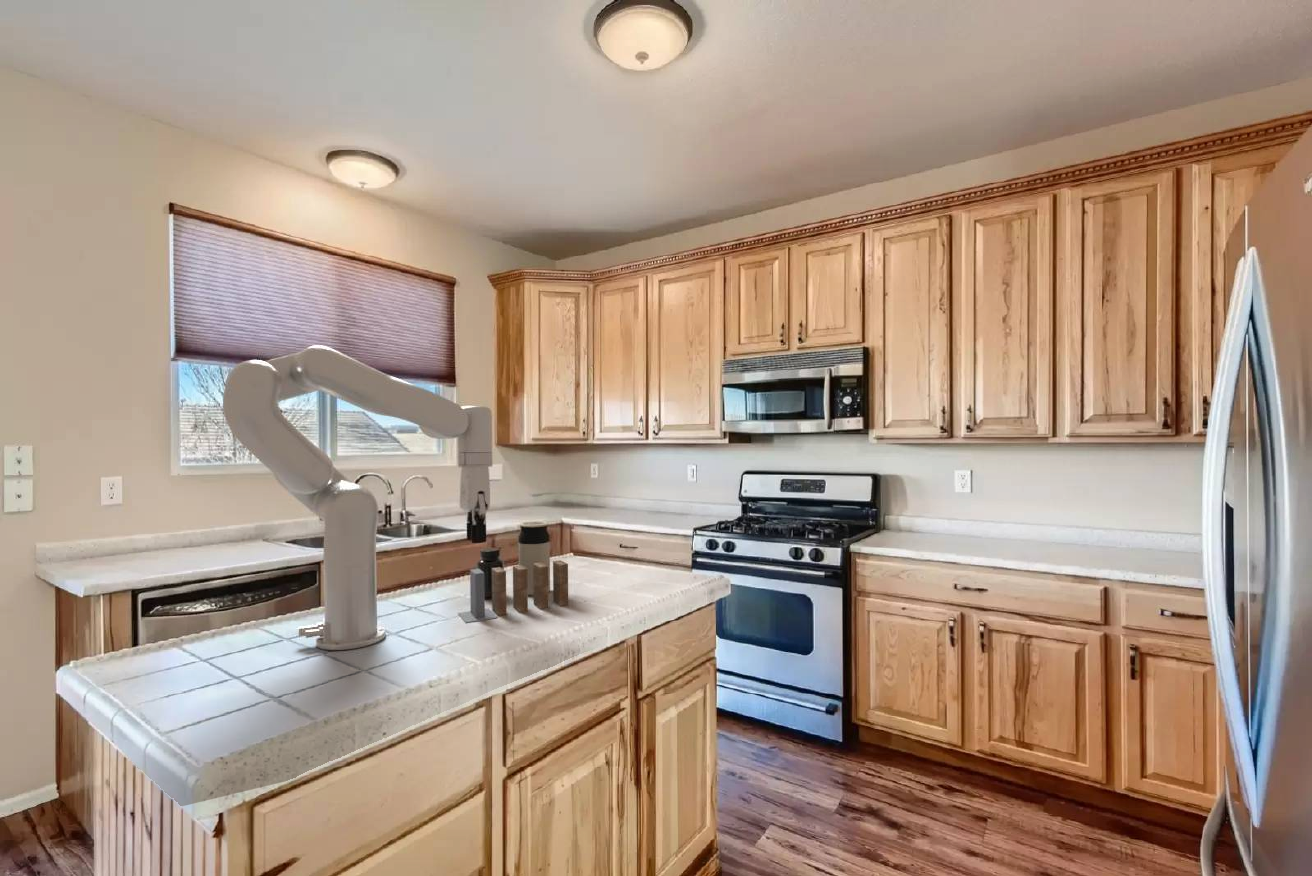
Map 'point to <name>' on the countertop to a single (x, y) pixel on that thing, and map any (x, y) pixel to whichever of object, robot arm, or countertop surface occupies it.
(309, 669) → the countertop surface
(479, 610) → the domino
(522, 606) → the domino
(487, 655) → the countertop surface
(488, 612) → the pad
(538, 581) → the domino
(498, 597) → the domino
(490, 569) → the supplement bottle
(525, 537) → the travel mug
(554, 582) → the domino
